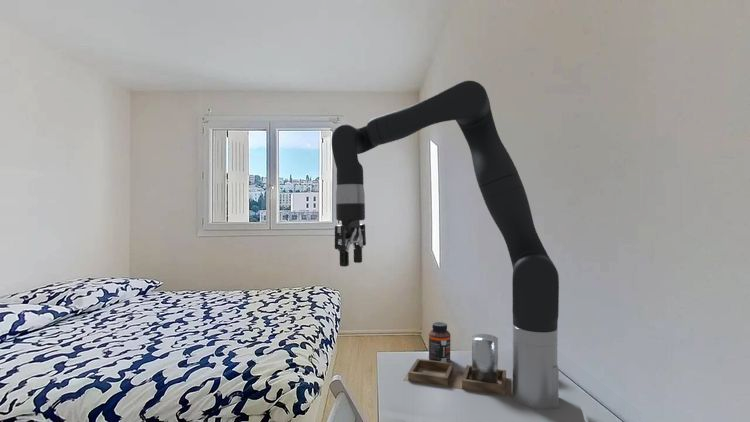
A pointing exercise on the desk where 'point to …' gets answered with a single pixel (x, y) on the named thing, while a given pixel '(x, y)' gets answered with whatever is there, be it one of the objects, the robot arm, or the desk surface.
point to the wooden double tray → (456, 377)
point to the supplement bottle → (439, 343)
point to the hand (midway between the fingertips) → (351, 264)
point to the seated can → (485, 358)
